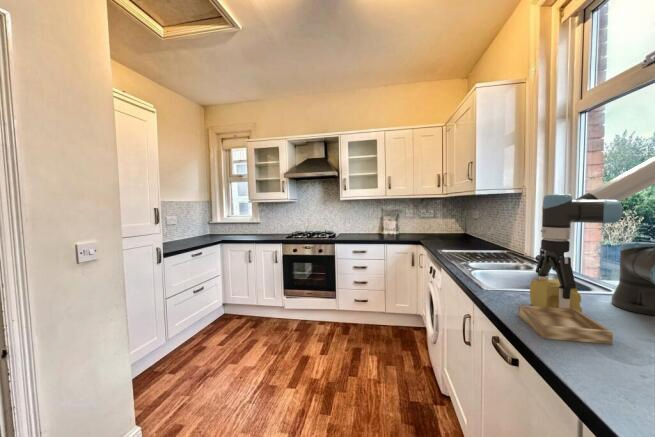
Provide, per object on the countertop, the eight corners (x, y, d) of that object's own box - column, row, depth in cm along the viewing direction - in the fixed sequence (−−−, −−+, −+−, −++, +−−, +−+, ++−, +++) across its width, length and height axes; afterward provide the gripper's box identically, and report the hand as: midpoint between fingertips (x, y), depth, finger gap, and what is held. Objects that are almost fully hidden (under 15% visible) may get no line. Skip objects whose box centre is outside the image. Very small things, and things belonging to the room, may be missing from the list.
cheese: (582, 317, 90) (583, 287, 89) (544, 315, 92) (545, 286, 92) (562, 305, 100) (563, 278, 100) (528, 304, 102) (529, 277, 102)
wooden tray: (575, 318, 89) (575, 308, 89) (612, 344, 74) (612, 332, 74) (518, 314, 93) (518, 305, 93) (542, 338, 78) (542, 326, 78)
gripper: (526, 234, 108) (524, 288, 109) (563, 245, 84) (560, 313, 85) (548, 235, 106) (546, 289, 107) (593, 245, 82) (589, 316, 83)
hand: (552, 300), depth 96 cm, fingers open, 13 cm apart
